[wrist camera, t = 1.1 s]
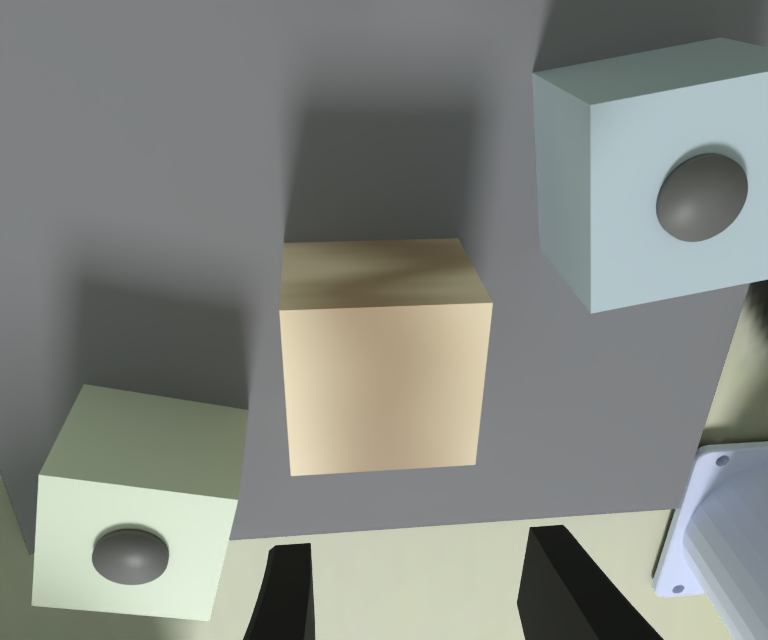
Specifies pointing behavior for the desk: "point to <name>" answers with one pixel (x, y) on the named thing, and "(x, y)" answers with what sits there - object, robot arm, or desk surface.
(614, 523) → the desk surface
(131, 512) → the sage dotted block
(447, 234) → the rubber mat
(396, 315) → the beech block
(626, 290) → the slate dotted block
